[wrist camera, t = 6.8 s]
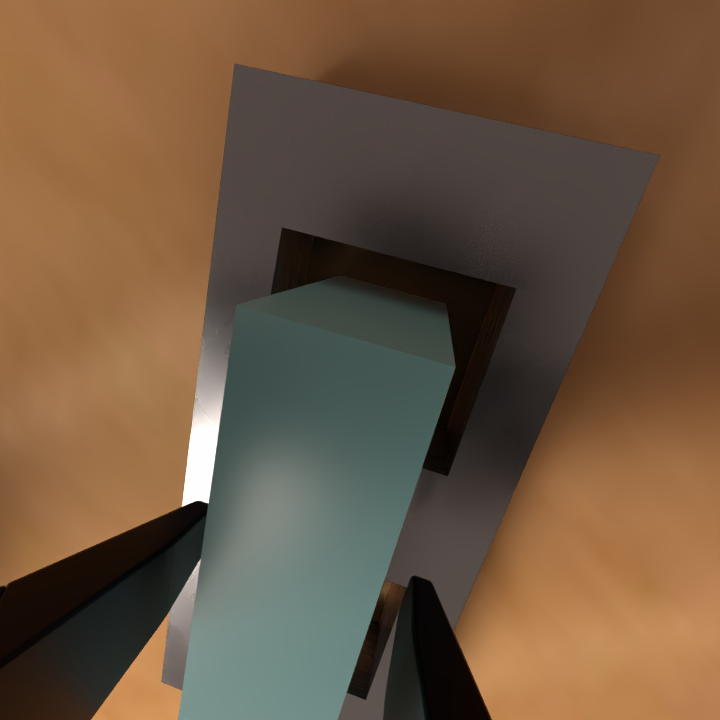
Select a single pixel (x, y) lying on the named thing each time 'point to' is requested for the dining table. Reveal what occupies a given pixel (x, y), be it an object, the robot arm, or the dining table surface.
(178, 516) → the robot arm
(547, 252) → the plate with rectangular holes
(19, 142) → the dining table surface
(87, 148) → the dining table surface
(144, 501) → the dining table surface
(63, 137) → the dining table surface
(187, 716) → the teal u-shaped block
